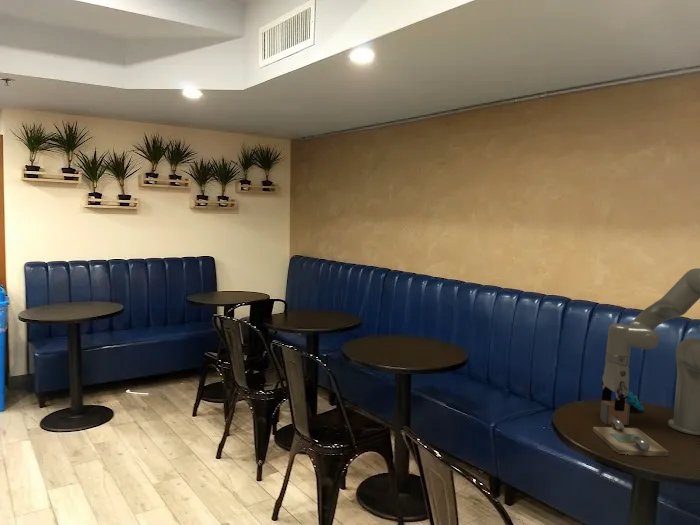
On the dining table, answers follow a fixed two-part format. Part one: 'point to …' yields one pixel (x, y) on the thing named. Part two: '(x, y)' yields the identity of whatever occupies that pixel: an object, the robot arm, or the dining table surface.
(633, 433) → the base
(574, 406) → the dining table surface
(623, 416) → the orange and grey block
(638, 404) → the gear
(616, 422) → the shaft angled
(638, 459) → the dining table surface
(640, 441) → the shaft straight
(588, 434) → the dining table surface
